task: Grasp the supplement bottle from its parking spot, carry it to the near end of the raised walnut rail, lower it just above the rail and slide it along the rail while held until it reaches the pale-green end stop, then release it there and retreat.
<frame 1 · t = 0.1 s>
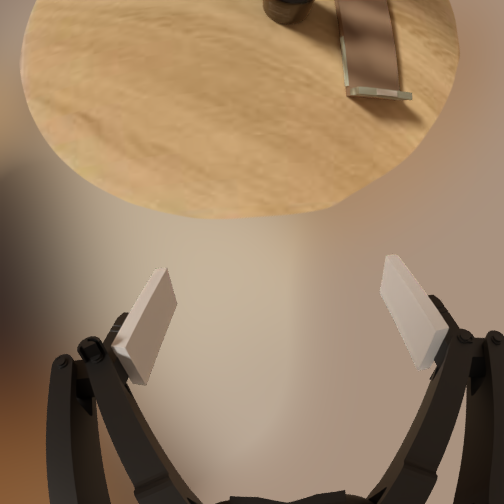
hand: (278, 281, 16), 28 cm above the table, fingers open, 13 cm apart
rail flange: (364, 33, 29), on the table
supplement bottle: (286, 7, 28), on the table
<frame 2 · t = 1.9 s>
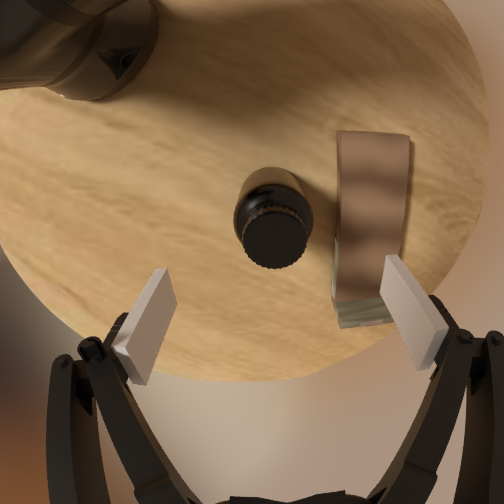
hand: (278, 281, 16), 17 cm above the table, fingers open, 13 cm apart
rail flange: (367, 223, 32), on the table
supplement bottle: (271, 194, 31), on the table
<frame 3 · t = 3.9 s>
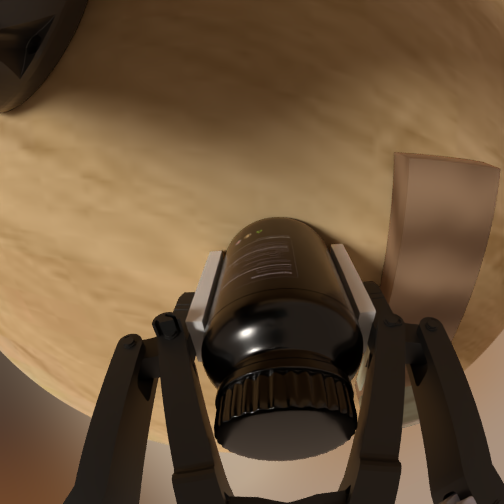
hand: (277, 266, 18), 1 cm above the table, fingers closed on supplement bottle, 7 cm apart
rail flange: (420, 296, 19), on the table
supplement bottle: (277, 260, 18), on the table, touching gripper
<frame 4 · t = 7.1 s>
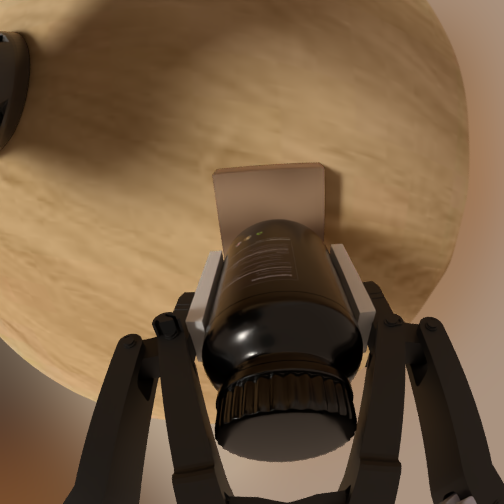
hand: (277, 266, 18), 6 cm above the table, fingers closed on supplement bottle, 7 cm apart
rail flange: (275, 283, 26), on the table
supplement bottle: (277, 262, 18), point 6 cm above the table, touching gripper
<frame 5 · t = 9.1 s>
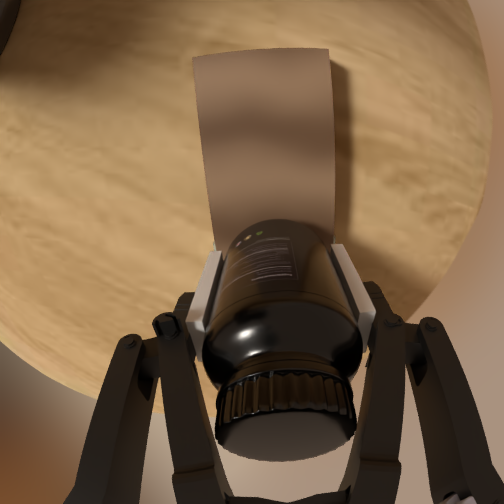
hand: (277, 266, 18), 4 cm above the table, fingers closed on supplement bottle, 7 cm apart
rail flange: (272, 211, 20), on the table
supplement bottle: (277, 262, 18), point 3 cm above the table, touching gripper
when the fingers open (3 cm above the table, at t = 10.5 s): supplement bottle stays where it is, resting on rail flange.
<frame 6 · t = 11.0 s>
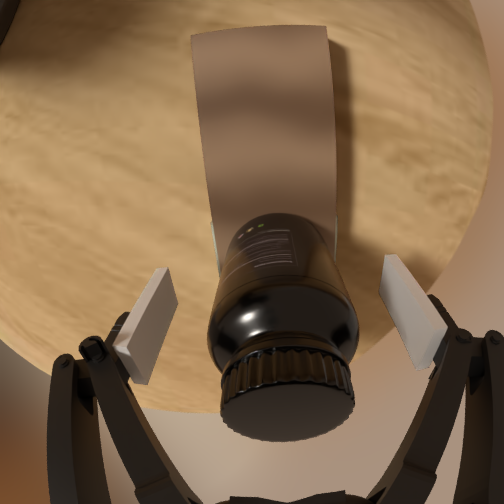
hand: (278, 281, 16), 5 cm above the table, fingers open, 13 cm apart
rail flange: (272, 190, 19), on the table
supplement bottle: (277, 254, 19), point 2 cm above the table, touching rail flange
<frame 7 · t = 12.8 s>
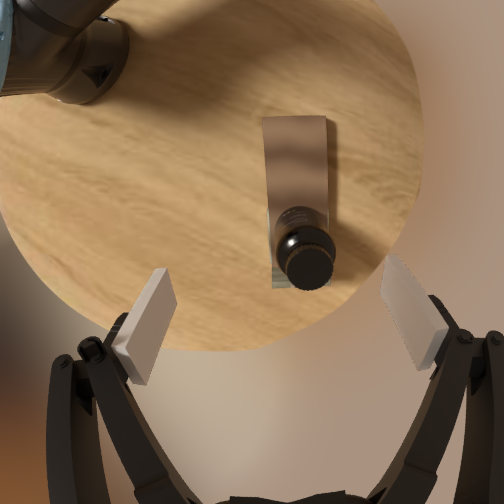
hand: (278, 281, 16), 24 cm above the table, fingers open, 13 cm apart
rail flange: (296, 195, 38), on the table
supplement bottle: (299, 227, 38), point 2 cm above the table, touching rail flange
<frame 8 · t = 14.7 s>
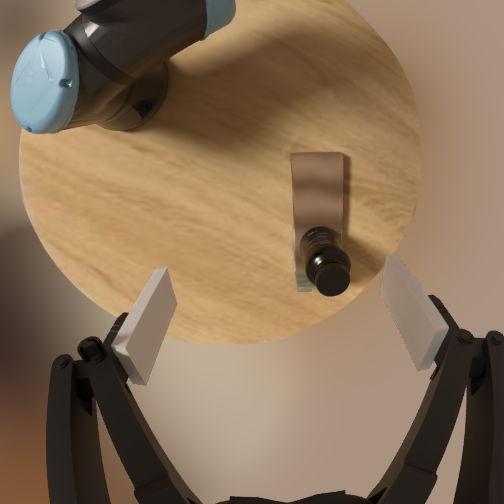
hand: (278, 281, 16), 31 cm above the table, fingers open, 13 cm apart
rail flange: (316, 216, 46), on the table
supplement bottle: (318, 242, 47), point 2 cm above the table, touching rail flange
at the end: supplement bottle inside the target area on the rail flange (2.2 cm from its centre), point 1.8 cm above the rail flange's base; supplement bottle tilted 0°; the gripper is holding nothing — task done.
